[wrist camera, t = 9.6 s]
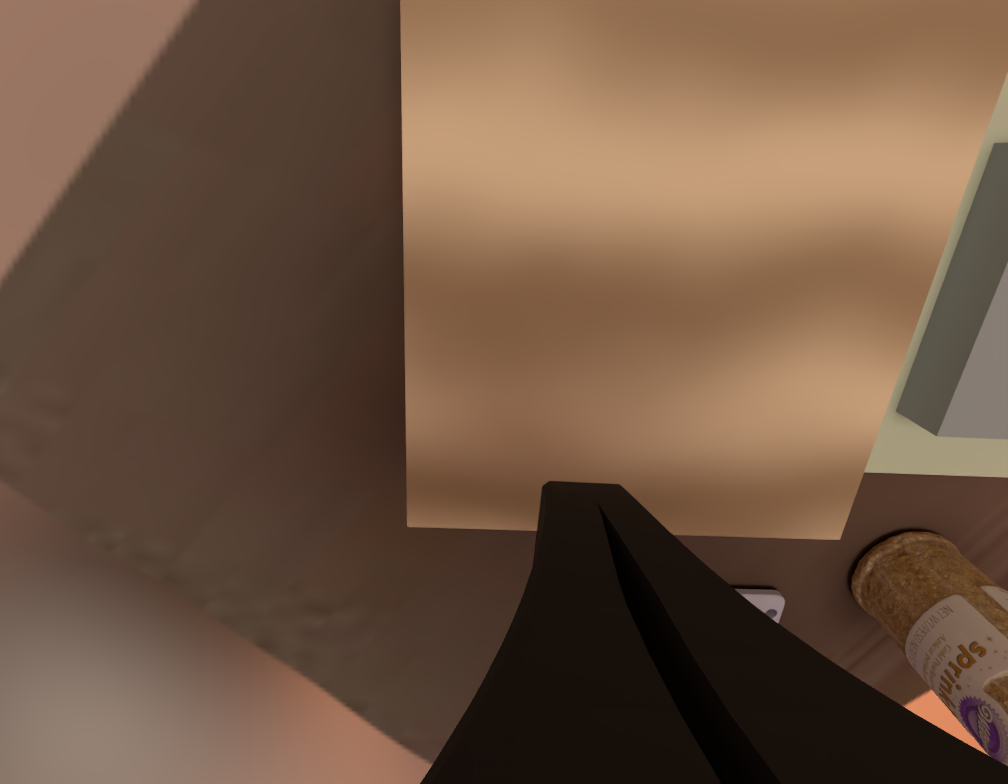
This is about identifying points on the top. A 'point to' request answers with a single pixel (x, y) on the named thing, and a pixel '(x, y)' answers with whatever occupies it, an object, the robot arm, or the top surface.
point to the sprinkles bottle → (944, 627)
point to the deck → (674, 246)
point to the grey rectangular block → (969, 326)
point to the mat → (898, 436)
